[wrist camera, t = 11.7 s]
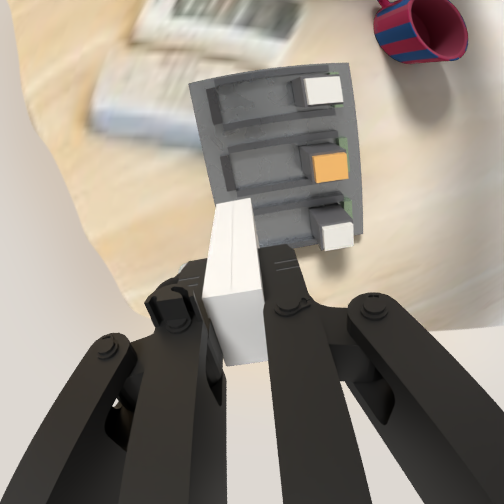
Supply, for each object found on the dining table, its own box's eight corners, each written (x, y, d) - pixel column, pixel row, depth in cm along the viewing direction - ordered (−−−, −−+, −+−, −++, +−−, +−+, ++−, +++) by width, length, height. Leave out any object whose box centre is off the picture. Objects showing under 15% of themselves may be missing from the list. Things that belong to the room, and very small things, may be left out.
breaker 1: (291, 80, 22) (302, 76, 18) (324, 77, 22) (341, 73, 18) (295, 106, 23) (307, 107, 20) (328, 103, 23) (346, 104, 19)
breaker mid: (299, 146, 25) (311, 155, 21) (331, 142, 25) (348, 150, 21) (302, 172, 26) (314, 185, 22) (334, 168, 26) (351, 180, 22)
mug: (397, 74, 23) (436, 72, 17) (339, -8, 19) (366, -31, 13) (438, 50, 22) (478, 47, 16) (386, -26, 18) (418, -47, 12)
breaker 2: (309, 209, 28) (321, 228, 24) (339, 204, 28) (355, 222, 24) (311, 232, 29) (322, 253, 25) (340, 226, 29) (355, 247, 25)
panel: (190, 84, 23) (186, 83, 21) (342, 64, 23) (351, 61, 21) (227, 250, 32) (227, 261, 30) (357, 227, 31) (365, 237, 29)
